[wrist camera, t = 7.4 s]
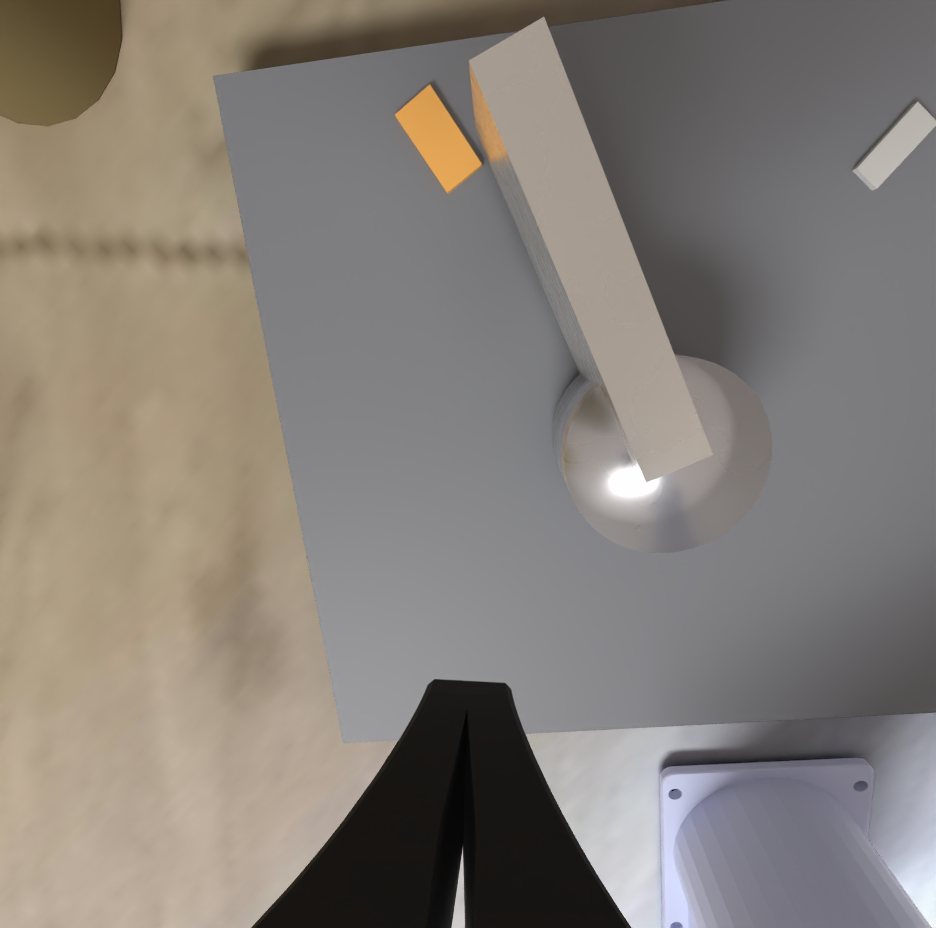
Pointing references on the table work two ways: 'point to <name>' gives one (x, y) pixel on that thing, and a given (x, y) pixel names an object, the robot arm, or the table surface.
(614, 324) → the lever handle
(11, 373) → the table surface
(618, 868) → the table surface
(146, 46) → the table surface
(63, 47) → the olive game pawn
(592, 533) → the panel
